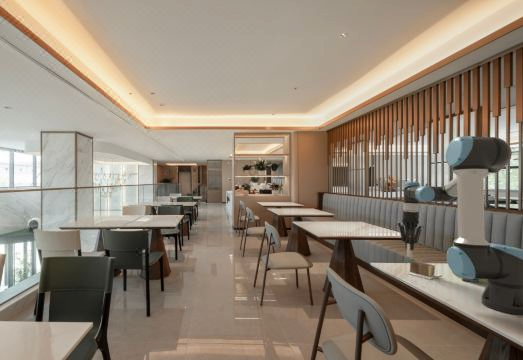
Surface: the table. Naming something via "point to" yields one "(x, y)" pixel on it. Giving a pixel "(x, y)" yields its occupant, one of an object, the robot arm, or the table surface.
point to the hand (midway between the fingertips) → (409, 255)
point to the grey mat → (425, 276)
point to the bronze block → (422, 268)
